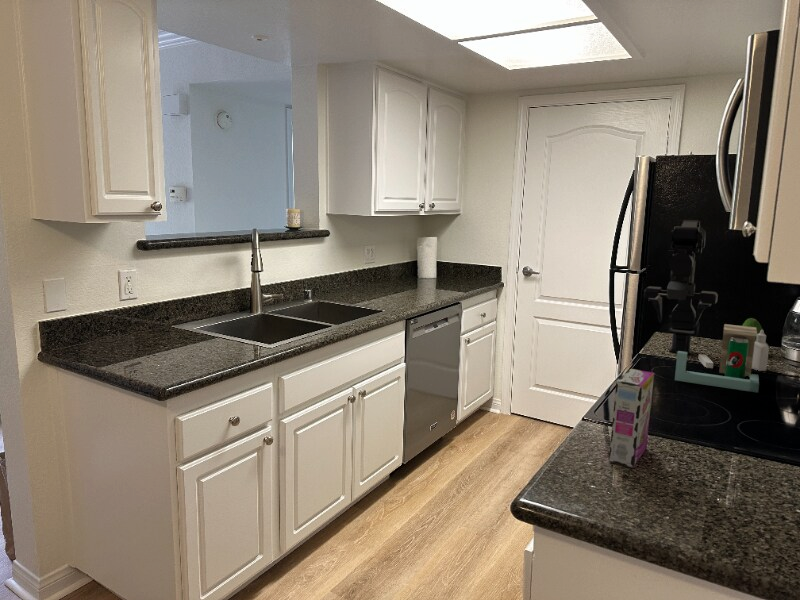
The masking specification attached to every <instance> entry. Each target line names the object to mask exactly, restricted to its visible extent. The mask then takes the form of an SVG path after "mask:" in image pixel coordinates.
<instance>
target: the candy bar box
mask: <svg viewBox="0 0 800 600" xmlns="http://www.w3.org/2000/svg"><path fill="white" fill-rule="evenodd" d="M654 379H655V372H651V371H646V370H640V369H635V368H630V369H629V370H628V371H626V372H625V373H624V374H623V375H622V376H621V377H620V378H618V379H617V380H616V382H615V392H614V402H613V403H614V405H613V415H612V423H611V434H610V436H611V437H610V447H609V458H608V462H609V463H613V464H617V465H621V466H623V467H627V468H628V467H629V468H631V469H633V468H635V466H636V464H637V463H638V462H639V460H640V459H641V457H642V455H643V454H644V452H645V451H646V449H647V447H648V437H649V436H648V435H649V427H650V418H651V417H650V416H651V410H652V409H651V407H652V400H653V390H654V389H653V388H654Z"/></svg>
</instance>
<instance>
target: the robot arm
mask: <svg viewBox="0 0 800 600" xmlns="http://www.w3.org/2000/svg"><path fill="white" fill-rule="evenodd" d="M706 233H707V232H706V230H705V229H704V228H703V227H702V226H701V221H700V220H697V219H694V220H693V219H684V220H682V221H681V226H679V225H677V226H674V227H673V229H672V230H670V237H669V243H668V249H667V251H669V252H673V253H672V255H671V258H670V259H669V261H668V267H669V269H670V270H671V271H670V280H669V282H668V285H667V287H666V289H665V290H664V289H663V288H662V287H661V286H647V287H646V288H645V289H643V290H644V291H643V298H646V299H647V300H648V302H651V303H652V305H653V306H654V308H655V311H656V315H657V319H658V322H659V323H660V324H661V323H662V319H663V297H666V299H668V300H672V299H673V300H677V304H676V305H675V307H673V309H672V311H671V315H669V316H668V327H667V333H668V334H672V336H671V337H672V338H671V346H670V348H669V349H668V352H669V353H676V354H677V352H678V351H683V352H687V355H691V354H692V350H693V349H692V348H691V346H692V345H691V343H692V337H696V336H699V330H700V322H699V320H700V318H701V316H702V315H703V314H702V313H703V312H704V310H705V309H706V308H708V307H711V306H712V305H716V304H717V303H718V297H719V294H718V293H717V291H709V290H702V291H700V292H698V293H697V292H696V283H695V282H694V281H695V271H696V262H697V260H698V258H700V256H701V254H702V252H703V249H705V246H706V235H707V234H706ZM692 300H697V301H698V300H699V302H698V304H697V307H696V308H697V309H696V310H695V307H694V306H693V304H692Z"/></svg>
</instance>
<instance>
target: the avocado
mask: <svg viewBox="0 0 800 600" xmlns="http://www.w3.org/2000/svg"><path fill="white" fill-rule="evenodd" d="M741 326H747V327H756V329H757V334H759V333H760V331H761V330H763V327H762V325H761V324H760V322H759V320H757V319H756V318H754V317H750V318H746V320H745V321H744V322H743V323H742V325H741ZM756 338H757V336H755V341H756Z"/></svg>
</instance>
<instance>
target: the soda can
mask: <svg viewBox="0 0 800 600" xmlns="http://www.w3.org/2000/svg"><path fill="white" fill-rule="evenodd" d="M748 348H749V341H748V338H747V337H743V336H731V338H730V339H729V341H728V350H727V359H726V368H725V373H724V376H726V377H733V378H740V379H745V378H746V376H745V373H746V364H747V356H748Z"/></svg>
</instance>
